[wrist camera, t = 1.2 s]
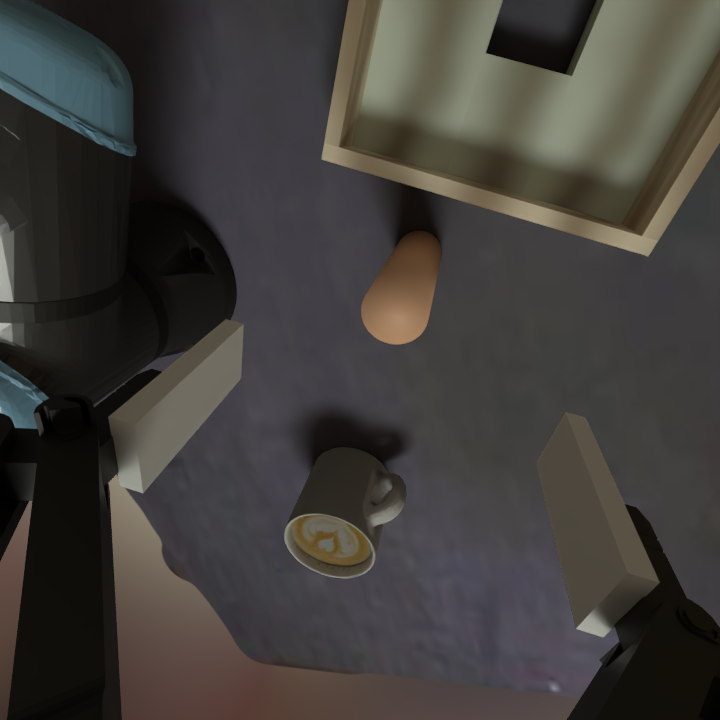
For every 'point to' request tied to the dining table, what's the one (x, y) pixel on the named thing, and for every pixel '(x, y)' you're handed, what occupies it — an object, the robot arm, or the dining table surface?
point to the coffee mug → (343, 513)
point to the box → (534, 112)
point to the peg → (403, 290)
